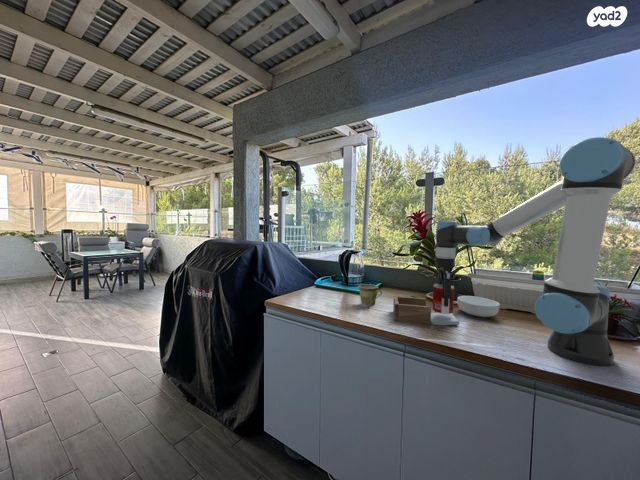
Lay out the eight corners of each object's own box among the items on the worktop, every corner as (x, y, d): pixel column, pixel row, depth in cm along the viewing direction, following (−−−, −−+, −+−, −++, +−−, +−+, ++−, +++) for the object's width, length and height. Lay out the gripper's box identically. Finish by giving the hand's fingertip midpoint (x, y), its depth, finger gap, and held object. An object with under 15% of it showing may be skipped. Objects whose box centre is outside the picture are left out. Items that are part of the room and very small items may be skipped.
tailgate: (459, 324, 104) (458, 321, 104) (432, 325, 106) (432, 322, 106) (451, 315, 115) (451, 312, 115) (427, 316, 117) (427, 313, 117)
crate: (433, 327, 105) (433, 307, 105) (394, 323, 108) (395, 304, 108) (427, 315, 119) (428, 298, 118) (393, 312, 122) (393, 295, 122)
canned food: (455, 314, 106) (456, 288, 105) (434, 313, 107) (435, 287, 107) (450, 309, 113) (451, 284, 113) (430, 307, 115) (431, 283, 114)
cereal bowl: (482, 324, 109) (483, 307, 109) (448, 312, 125) (449, 297, 124) (507, 318, 116) (508, 303, 116) (472, 308, 132) (473, 294, 131)
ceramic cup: (354, 305, 133) (354, 285, 133) (366, 301, 140) (366, 283, 140) (375, 311, 124) (375, 290, 123) (386, 307, 130) (387, 287, 130)
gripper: (431, 254, 120) (429, 302, 121) (440, 259, 100) (438, 317, 101) (448, 255, 118) (446, 304, 120) (462, 260, 98) (459, 319, 100)
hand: (442, 310), depth 110 cm, fingers closed on canned food, 8 cm apart
